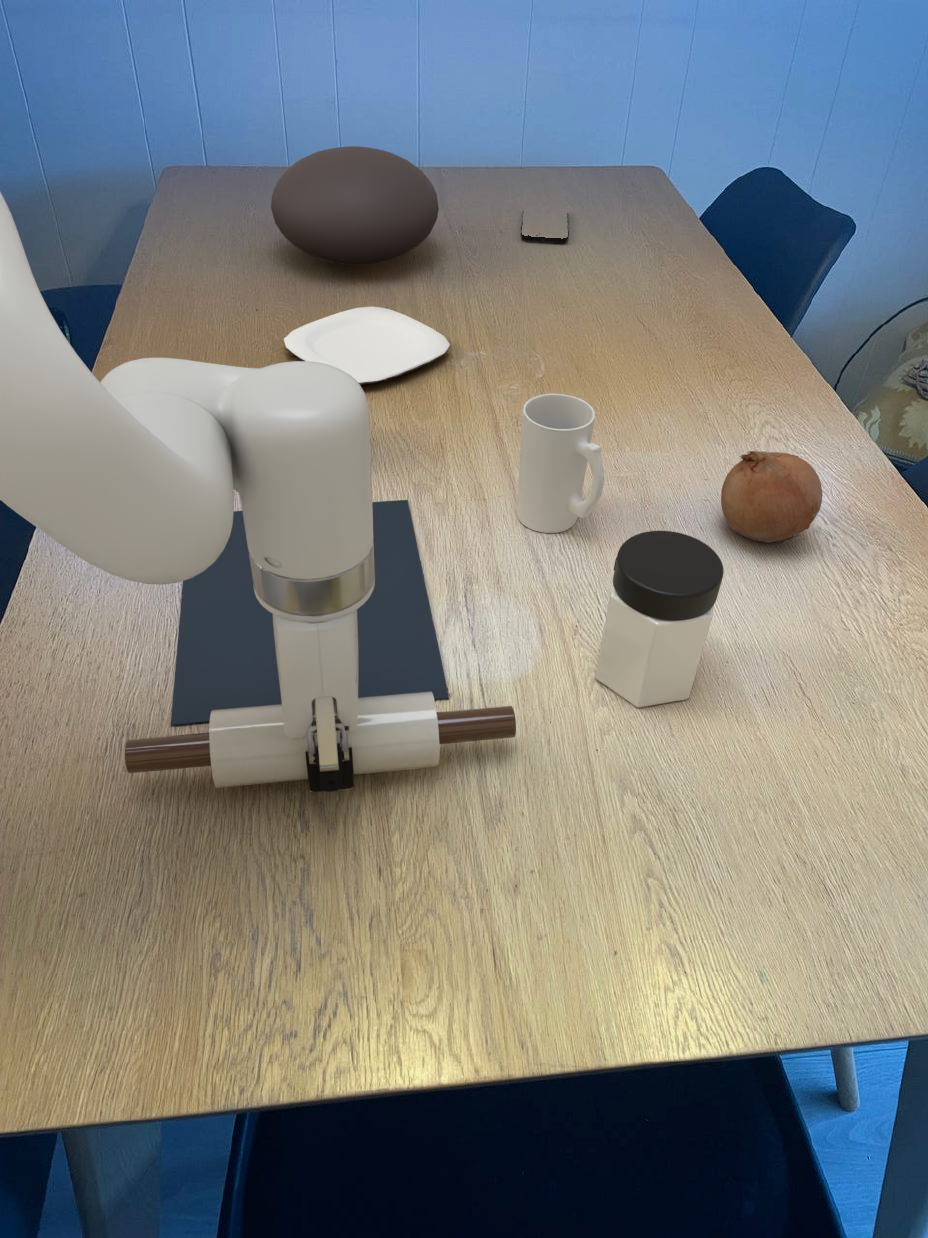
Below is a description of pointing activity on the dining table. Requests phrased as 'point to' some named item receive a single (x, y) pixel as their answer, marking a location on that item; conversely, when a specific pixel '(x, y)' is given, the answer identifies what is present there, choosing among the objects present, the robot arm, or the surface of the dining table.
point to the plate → (368, 343)
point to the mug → (557, 463)
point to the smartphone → (544, 239)
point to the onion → (771, 496)
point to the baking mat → (244, 635)
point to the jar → (658, 616)
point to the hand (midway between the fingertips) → (329, 751)
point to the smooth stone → (354, 205)
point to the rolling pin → (263, 753)
